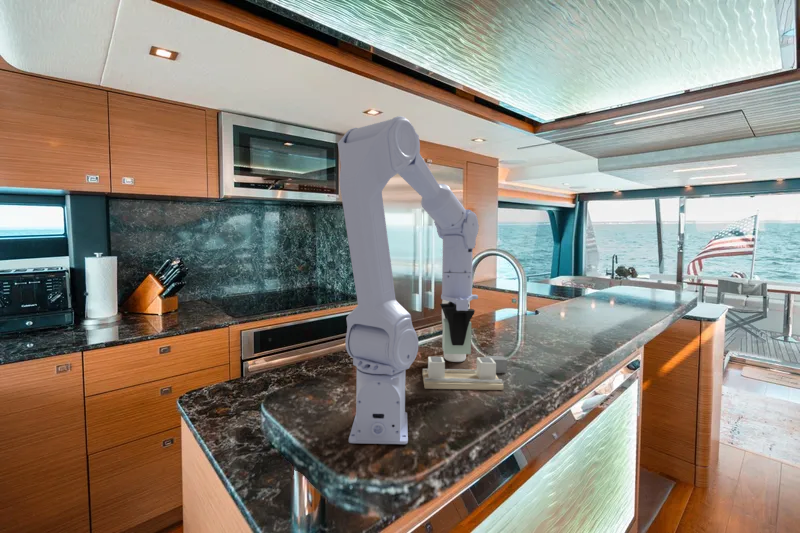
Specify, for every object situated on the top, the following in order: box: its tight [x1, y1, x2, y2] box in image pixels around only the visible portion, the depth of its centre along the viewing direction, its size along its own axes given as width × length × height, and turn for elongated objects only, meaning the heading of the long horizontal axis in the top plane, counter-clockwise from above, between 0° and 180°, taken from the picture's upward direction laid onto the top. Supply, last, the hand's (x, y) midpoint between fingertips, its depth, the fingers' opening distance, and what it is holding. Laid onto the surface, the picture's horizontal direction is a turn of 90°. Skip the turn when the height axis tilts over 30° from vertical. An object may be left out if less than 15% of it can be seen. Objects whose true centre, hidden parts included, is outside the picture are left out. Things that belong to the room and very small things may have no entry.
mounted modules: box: [427, 356, 497, 379], centre depth 76 cm, size 4×13×4 cm, turn 90°
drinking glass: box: [441, 299, 471, 363], centre depth 91 cm, size 7×7×15 cm
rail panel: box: [421, 371, 505, 391], centre depth 76 cm, size 8×15×1 cm, turn 90°
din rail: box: [422, 368, 504, 383], centre depth 76 cm, size 6×15×1 cm, turn 90°
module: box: [441, 319, 473, 355], centre depth 73 cm, size 4×5×6 cm
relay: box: [485, 355, 508, 374], centre depth 84 cm, size 3×4×3 cm
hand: (456, 342), depth 73 cm, fingers closed on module, 4 cm apart
